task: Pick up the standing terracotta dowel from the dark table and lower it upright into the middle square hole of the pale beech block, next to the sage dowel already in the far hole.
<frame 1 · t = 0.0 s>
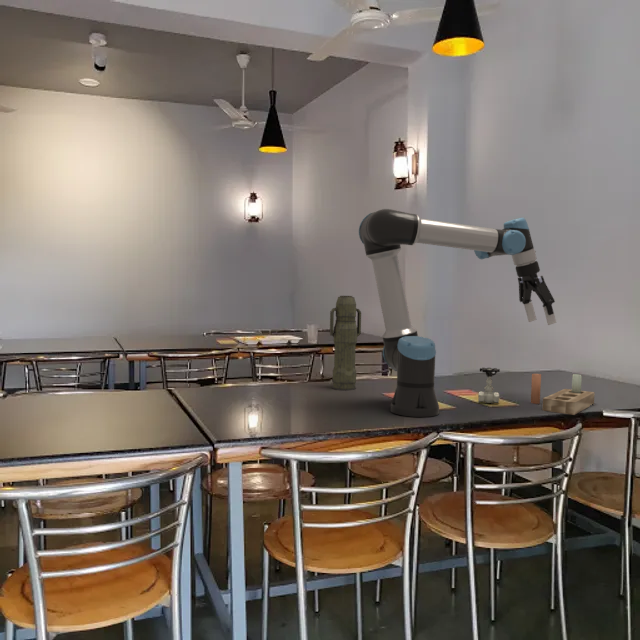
hand: (542, 322, 219), 28 cm above the table, tool tilted 20°, fingers open, 13 cm apart
sage peg: (575, 403, 220), resting in beech block
valve: (488, 404, 217), on the table
beech block: (569, 406, 214), on the table
terracotta peg: (535, 403, 220), on the table
thermos: (344, 388, 241), on the table
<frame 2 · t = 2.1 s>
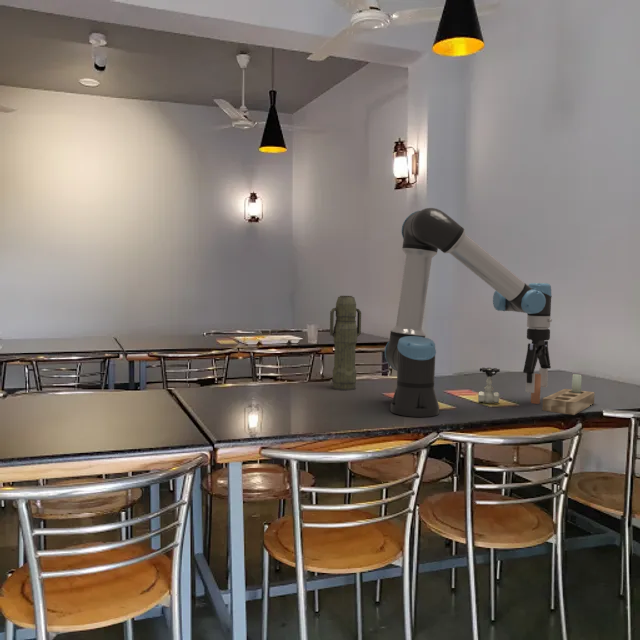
hand: (536, 389, 219), 5 cm above the table, tool pointing down, fingers open, 13 cm apart
nothing on the table moved.
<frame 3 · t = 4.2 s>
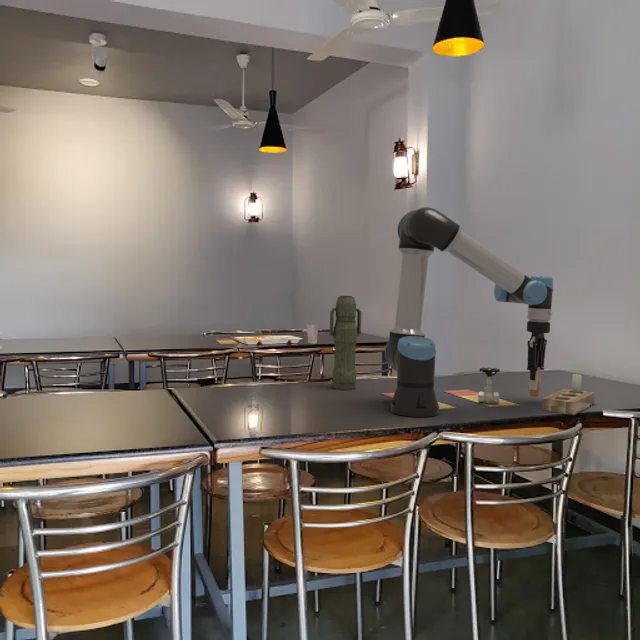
hand: (534, 388, 219), 5 cm above the table, tool pointing down, fingers closed on terracotta peg, 2 cm apart
terracotta peg: (533, 395, 219), point 2 cm above the table, touching gripper
everything else where it was.
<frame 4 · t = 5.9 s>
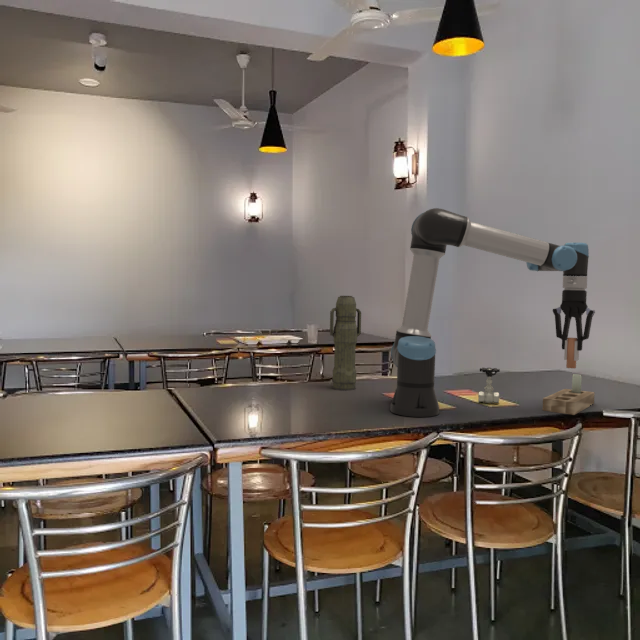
hand: (571, 359, 213), 16 cm above the table, tool pointing down, fingers closed on terracotta peg, 2 cm apart
terracotta peg: (571, 367, 213), point 13 cm above the table, touching gripper
everything else where it was.
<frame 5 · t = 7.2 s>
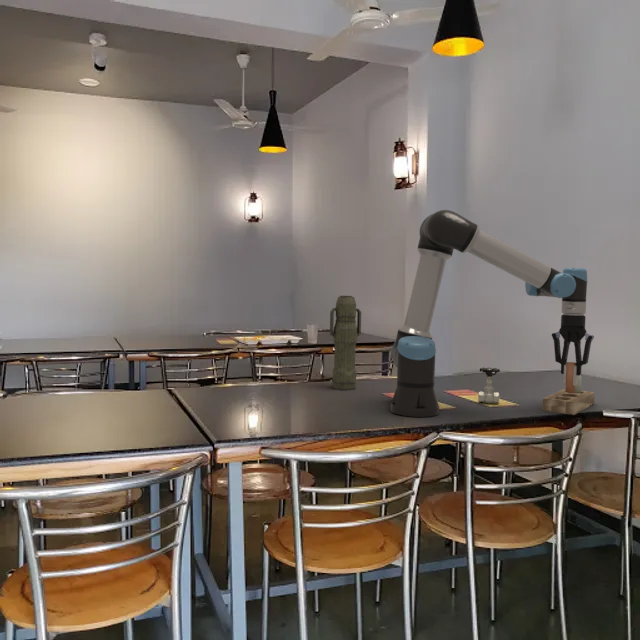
hand: (570, 384, 213), 8 cm above the table, tool pointing down, fingers closed on terracotta peg, 2 cm apart
terracotta peg: (570, 392, 213), point 5 cm above the table, touching gripper
everything else where it was.
when the fingers open (6 cm above the table, at t = 8.3 s): terracotta peg drops 3 cm, resting in beech block.
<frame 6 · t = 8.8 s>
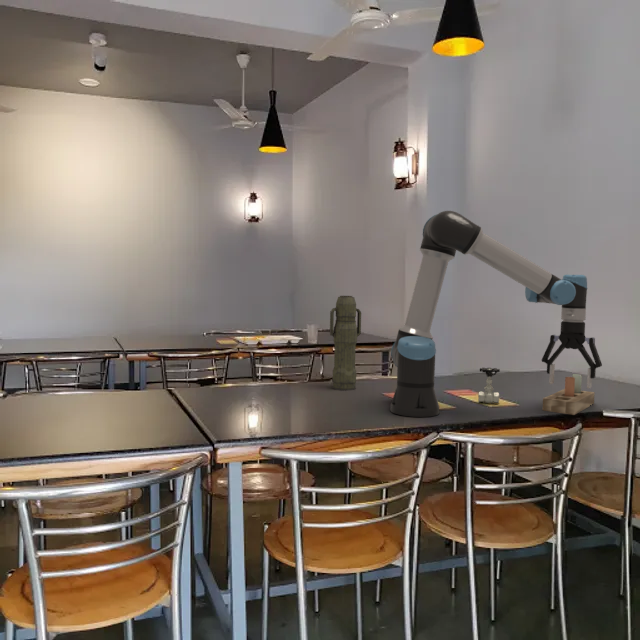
hand: (570, 385, 213), 7 cm above the table, tool pointing down, fingers open, 11 cm apart
terracotta peg: (568, 406, 214), resting in beech block
everything else where it was.
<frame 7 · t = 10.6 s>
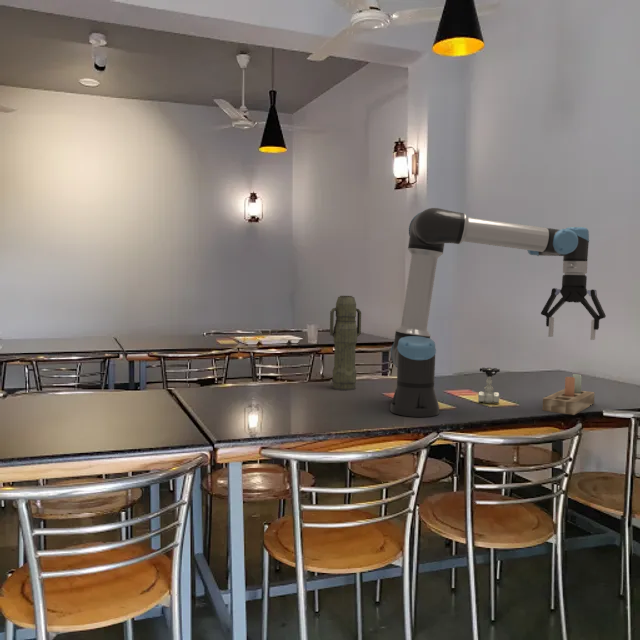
hand: (571, 338, 213), 23 cm above the table, tool pointing down, fingers open, 13 cm apart
nothing on the table moved.
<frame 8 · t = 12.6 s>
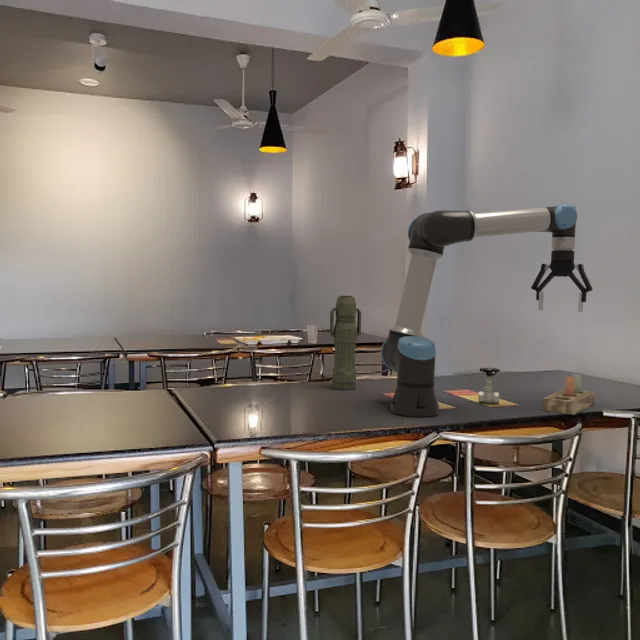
hand: (560, 310, 223), 32 cm above the table, tool pointing down, fingers open, 13 cm apart
nothing on the table moved.
at the end: terracotta peg 0.1 cm off-centre on the beech block, point 0.0 cm above the beech block's base; terracotta peg tilted 0°; the gripper is holding nothing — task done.
